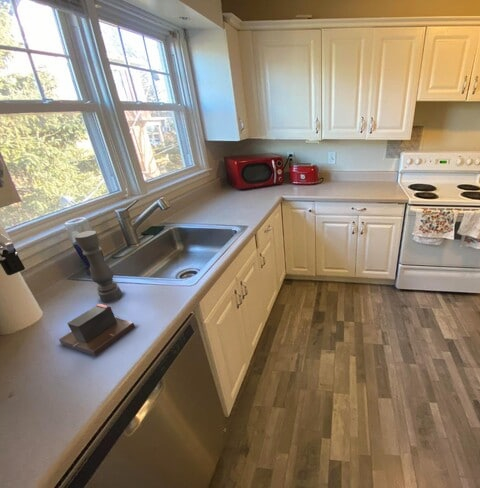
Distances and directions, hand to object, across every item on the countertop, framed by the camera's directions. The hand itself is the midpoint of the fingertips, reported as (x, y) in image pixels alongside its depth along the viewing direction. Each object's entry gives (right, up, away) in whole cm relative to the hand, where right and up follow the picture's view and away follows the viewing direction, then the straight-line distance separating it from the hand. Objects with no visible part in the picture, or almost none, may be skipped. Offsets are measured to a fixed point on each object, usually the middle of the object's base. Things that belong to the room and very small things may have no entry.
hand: (3, 269), depth 68 cm
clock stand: (+10, -21, +16) cm, 29 cm away
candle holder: (+1, -13, +33) cm, 36 cm away
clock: (+10, -20, +15) cm, 27 cm away
